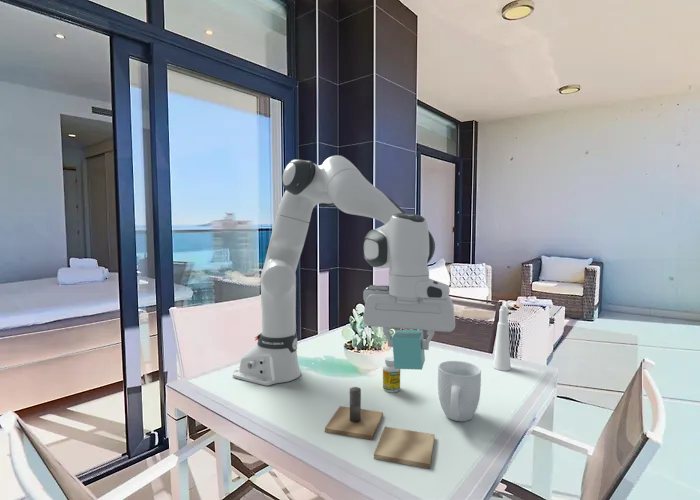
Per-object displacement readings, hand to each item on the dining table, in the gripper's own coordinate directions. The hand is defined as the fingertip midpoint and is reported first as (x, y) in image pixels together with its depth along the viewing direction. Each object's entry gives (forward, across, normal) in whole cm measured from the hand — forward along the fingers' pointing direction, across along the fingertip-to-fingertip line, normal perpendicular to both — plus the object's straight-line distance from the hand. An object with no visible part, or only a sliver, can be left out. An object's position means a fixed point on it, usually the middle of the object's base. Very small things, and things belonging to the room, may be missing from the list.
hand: (408, 347), depth 88 cm
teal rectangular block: (+4, 0, 0) cm, 4 cm away
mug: (+24, +11, +18) cm, 31 cm away
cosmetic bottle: (+24, +25, +58) cm, 68 cm away
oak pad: (+23, 0, 0) cm, 23 cm away
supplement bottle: (+24, -9, +30) cm, 39 cm away
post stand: (+23, -14, +7) cm, 28 cm away
